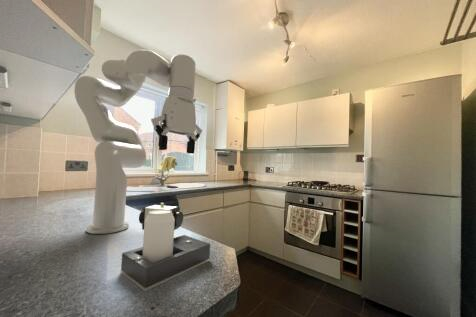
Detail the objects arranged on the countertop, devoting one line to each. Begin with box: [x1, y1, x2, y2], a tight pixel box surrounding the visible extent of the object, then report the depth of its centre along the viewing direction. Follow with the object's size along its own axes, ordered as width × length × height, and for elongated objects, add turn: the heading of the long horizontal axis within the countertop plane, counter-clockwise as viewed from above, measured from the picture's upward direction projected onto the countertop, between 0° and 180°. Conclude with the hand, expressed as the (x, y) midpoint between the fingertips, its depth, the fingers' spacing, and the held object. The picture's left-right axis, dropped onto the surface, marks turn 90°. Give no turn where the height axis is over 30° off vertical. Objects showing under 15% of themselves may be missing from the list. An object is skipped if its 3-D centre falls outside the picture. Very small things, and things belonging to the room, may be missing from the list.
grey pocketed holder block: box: [120, 234, 211, 292], centre depth 44 cm, size 10×16×4 cm, turn 143°
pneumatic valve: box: [138, 202, 184, 231], centre depth 57 cm, size 6×12×12 cm, turn 78°
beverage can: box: [142, 209, 175, 263], centre depth 43 cm, size 6×6×12 cm
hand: (177, 151), depth 60 cm, fingers open, 9 cm apart
